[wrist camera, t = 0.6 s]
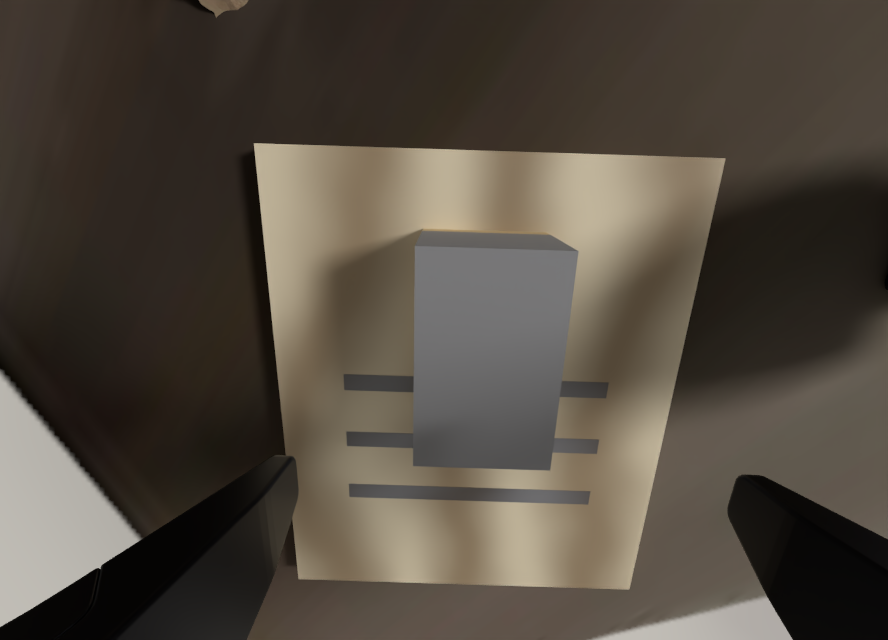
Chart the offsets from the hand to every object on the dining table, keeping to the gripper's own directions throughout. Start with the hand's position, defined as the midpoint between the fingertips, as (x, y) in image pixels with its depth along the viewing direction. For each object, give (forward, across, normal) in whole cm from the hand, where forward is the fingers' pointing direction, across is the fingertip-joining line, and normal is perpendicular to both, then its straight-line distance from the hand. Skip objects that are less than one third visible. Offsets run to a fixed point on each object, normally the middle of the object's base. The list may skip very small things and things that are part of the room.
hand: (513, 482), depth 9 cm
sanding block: (+10, 0, 0) cm, 10 cm away
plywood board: (+12, 0, +4) cm, 12 cm away
